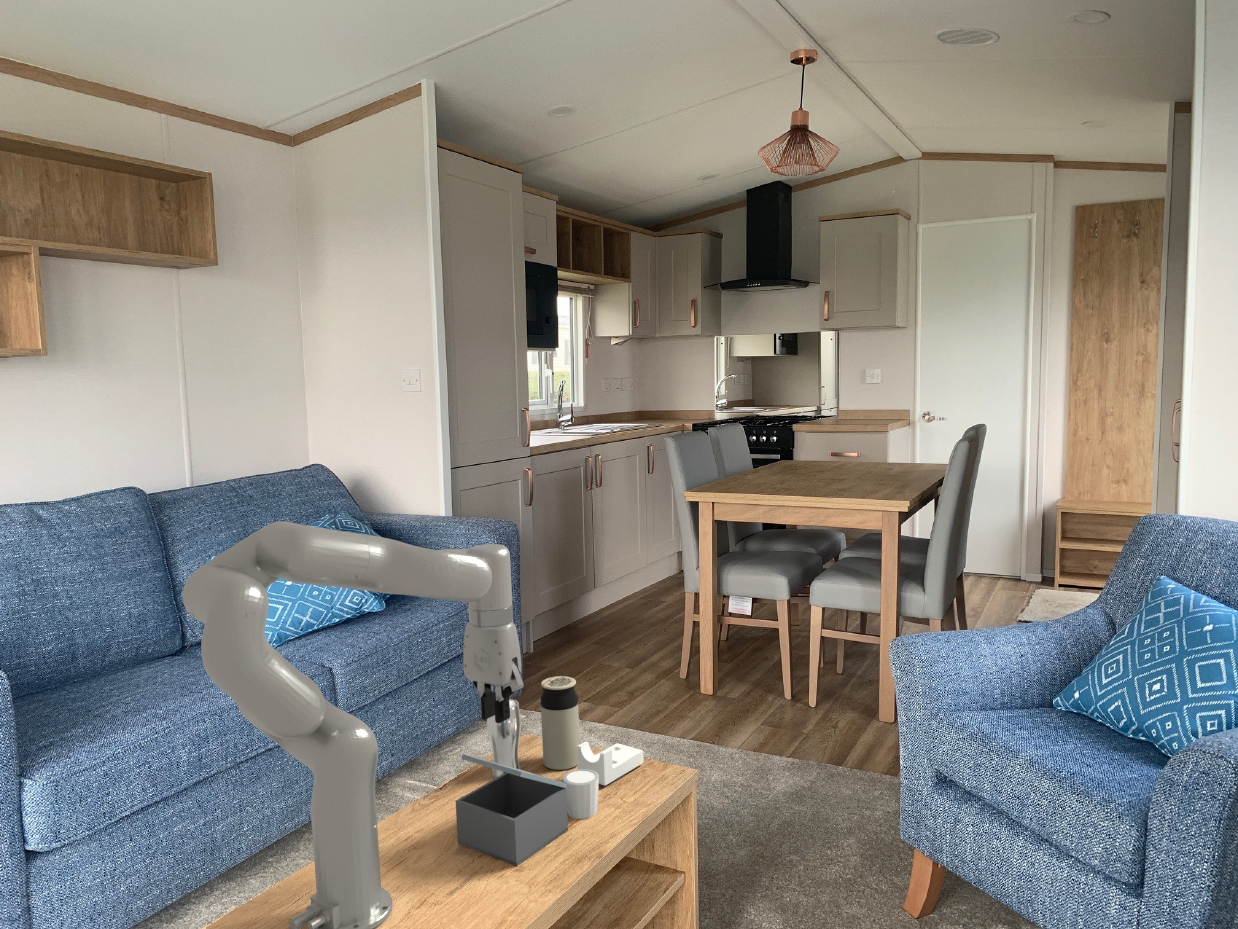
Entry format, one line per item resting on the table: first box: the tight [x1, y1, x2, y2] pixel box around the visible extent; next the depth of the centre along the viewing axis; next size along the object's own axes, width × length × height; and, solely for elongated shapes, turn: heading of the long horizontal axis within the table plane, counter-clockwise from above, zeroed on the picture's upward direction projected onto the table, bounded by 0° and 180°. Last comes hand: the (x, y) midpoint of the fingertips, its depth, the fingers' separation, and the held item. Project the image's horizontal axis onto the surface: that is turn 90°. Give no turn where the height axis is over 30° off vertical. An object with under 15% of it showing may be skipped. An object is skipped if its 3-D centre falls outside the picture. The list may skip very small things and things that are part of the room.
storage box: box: [455, 773, 569, 867], centre depth 157 cm, size 14×14×8 cm
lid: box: [460, 753, 567, 788], centre depth 157 cm, size 14×14×1 cm
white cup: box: [562, 768, 600, 820], centre depth 165 cm, size 7×7×7 cm
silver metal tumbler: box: [486, 698, 522, 779], centre depth 183 cm, size 7×7×15 cm
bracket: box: [577, 741, 645, 786], centre depth 182 cm, size 13×7×8 cm, turn 142°
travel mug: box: [540, 675, 581, 771], centre depth 187 cm, size 8×8×18 cm
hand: (496, 718), depth 153 cm, fingers open, 2 cm apart
